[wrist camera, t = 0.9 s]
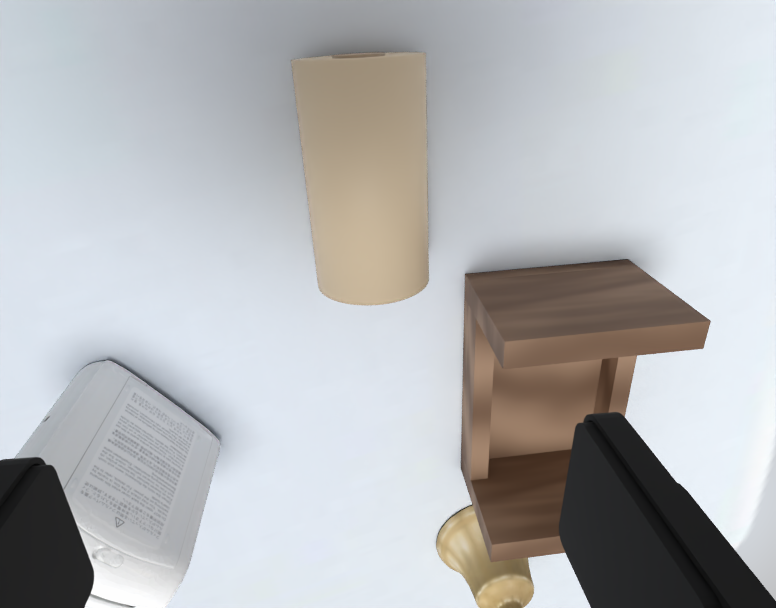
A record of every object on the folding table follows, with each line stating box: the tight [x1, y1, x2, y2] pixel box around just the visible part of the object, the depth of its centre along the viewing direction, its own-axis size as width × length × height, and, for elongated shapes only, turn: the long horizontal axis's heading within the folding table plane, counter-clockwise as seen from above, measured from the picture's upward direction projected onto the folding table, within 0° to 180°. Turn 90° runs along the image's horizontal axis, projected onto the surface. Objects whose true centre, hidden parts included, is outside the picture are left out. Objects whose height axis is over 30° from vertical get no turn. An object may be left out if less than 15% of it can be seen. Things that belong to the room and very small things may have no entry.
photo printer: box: [14, 360, 220, 608], centre depth 29 cm, size 10×4×12 cm, turn 39°
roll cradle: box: [461, 259, 710, 562], centre depth 33 cm, size 16×10×8 cm, turn 3°
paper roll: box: [291, 52, 429, 305], centre depth 26 cm, size 11×6×6 cm, turn 3°
